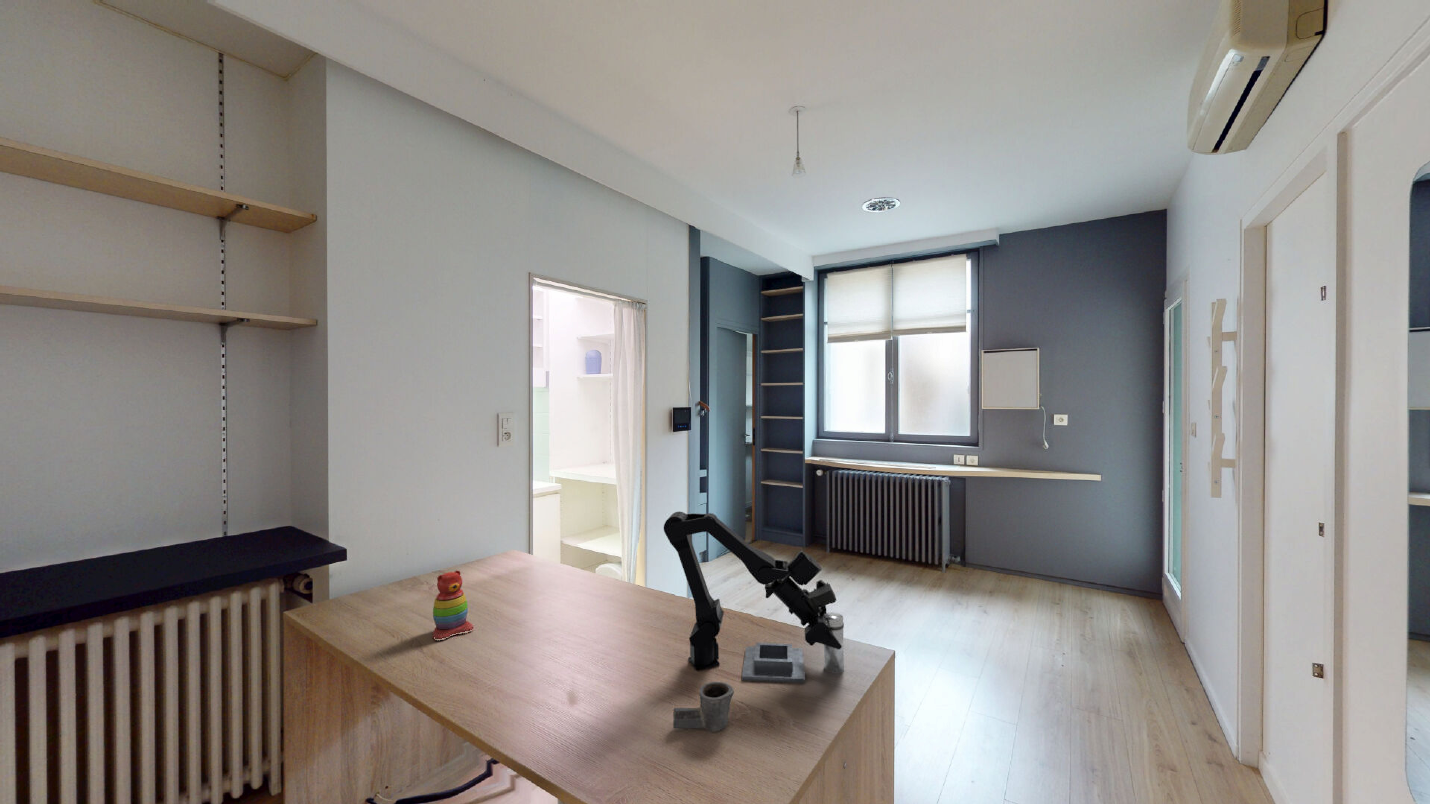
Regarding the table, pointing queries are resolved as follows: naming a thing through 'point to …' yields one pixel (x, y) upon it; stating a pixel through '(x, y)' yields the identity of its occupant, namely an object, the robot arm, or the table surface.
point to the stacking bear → (450, 606)
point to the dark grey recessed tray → (774, 663)
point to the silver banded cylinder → (832, 655)
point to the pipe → (707, 709)
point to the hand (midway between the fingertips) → (839, 642)
